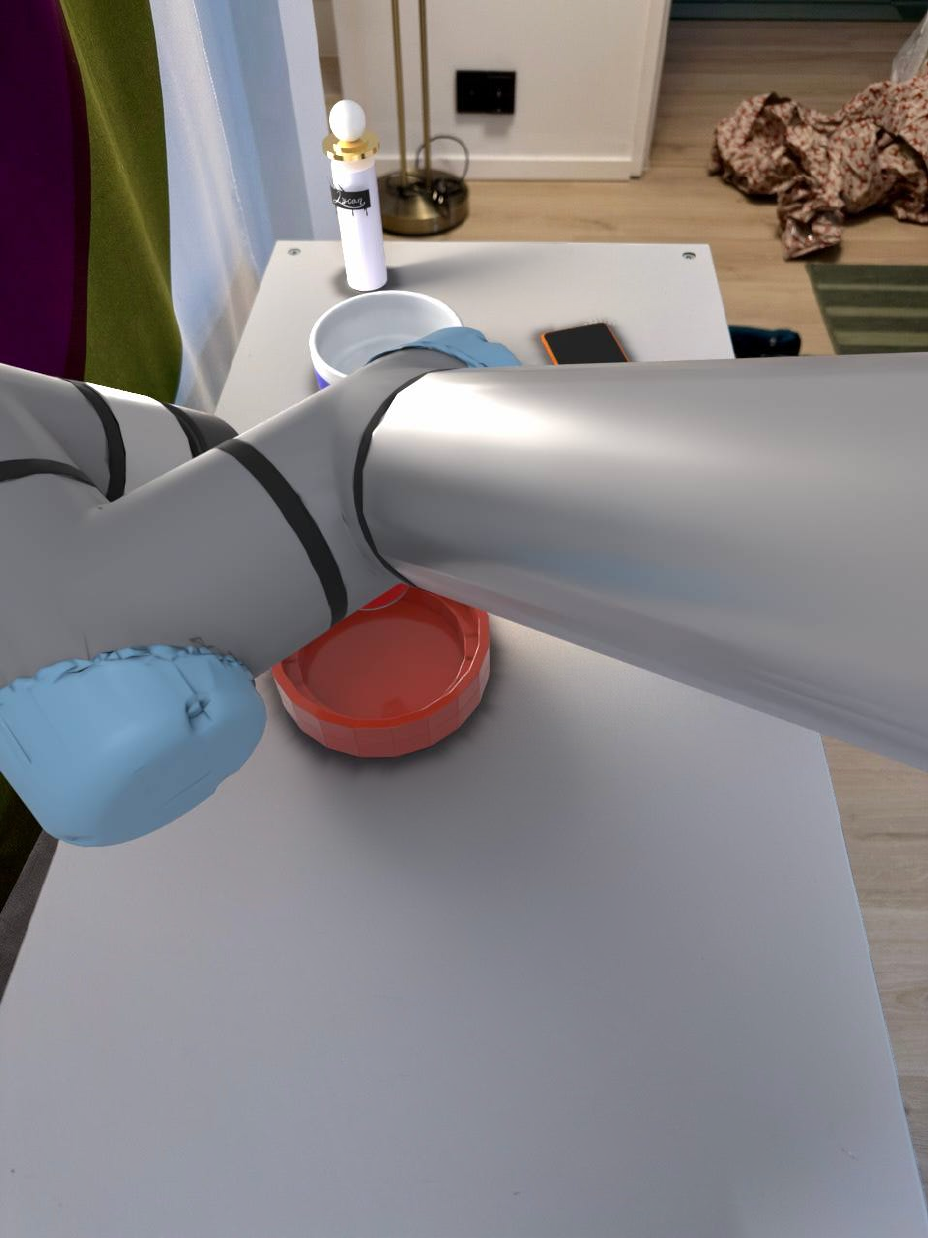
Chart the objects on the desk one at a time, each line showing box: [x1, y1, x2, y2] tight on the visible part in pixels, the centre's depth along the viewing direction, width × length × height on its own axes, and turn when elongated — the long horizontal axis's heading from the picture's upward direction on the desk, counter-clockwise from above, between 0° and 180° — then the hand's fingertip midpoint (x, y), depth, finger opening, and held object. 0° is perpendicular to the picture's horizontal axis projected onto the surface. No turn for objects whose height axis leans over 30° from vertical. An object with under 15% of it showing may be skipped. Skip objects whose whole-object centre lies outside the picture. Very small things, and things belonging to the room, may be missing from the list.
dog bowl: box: [309, 290, 465, 391], centre depth 90 cm, size 15×15×6 cm
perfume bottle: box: [321, 99, 388, 292], centre depth 95 cm, size 6×6×20 cm
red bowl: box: [270, 586, 491, 758], centre depth 69 cm, size 17×17×5 cm
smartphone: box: [540, 321, 631, 365], centre depth 91 cm, size 8×17×1 cm, turn 14°
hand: (397, 516), depth 61 cm, fingers closed on beverage can, 6 cm apart
